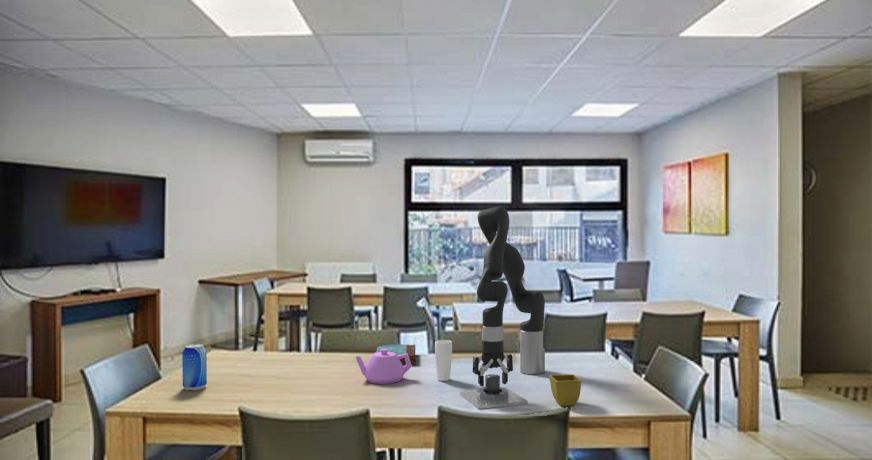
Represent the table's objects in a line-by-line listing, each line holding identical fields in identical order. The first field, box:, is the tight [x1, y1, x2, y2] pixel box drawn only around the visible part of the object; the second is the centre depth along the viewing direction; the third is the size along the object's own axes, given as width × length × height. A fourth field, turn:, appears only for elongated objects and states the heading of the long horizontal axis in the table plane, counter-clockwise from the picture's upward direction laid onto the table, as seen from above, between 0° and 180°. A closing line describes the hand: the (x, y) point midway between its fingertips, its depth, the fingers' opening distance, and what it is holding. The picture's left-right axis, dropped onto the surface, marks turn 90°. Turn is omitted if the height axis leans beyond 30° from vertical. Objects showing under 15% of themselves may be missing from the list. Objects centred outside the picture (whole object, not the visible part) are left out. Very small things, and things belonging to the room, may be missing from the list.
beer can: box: [181, 343, 208, 391], centre depth 227 cm, size 8×8×16 cm
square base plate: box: [459, 386, 529, 410], centre depth 211 cm, size 18×18×3 cm
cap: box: [484, 373, 501, 393], centre depth 211 cm, size 5×5×7 cm
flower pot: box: [549, 373, 582, 407], centre depth 205 cm, size 9×9×9 cm
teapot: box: [355, 349, 413, 385], centre depth 238 cm, size 22×16×12 cm
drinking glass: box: [434, 339, 453, 382], centre depth 237 cm, size 7×7×15 cm
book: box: [375, 344, 416, 366], centre depth 272 cm, size 23×18×5 cm
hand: (493, 384), depth 211 cm, fingers open, 8 cm apart
